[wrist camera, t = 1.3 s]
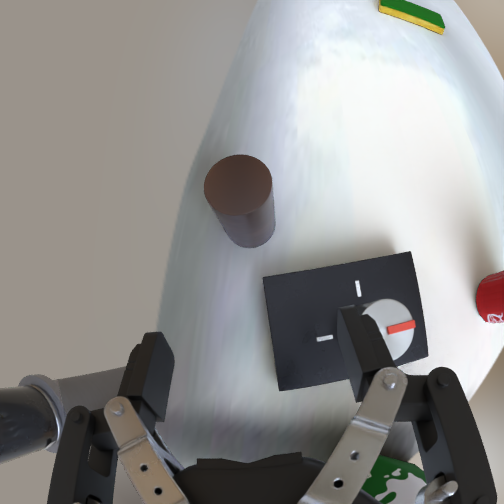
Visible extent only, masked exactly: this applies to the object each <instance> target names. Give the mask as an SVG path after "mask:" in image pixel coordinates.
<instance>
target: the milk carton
mask: <svg viewBox="0 0 504 504" xmlns="http://www.w3.org/2000/svg"><path fill="white" fill-rule="evenodd" d="M425 485H427V483H426V479H425V474H424V471H422V470H421V469H420V468H419V467H418V466H416V465H415V464H412V463H408V462H404V461H400V460H397V459H393V458H389V457H386V456H382V455H379V456H378V458H377V460H376V462H375V464H374V466H373V467H372V469H371V471H370V473H369V475H368V477H367V479H366V480H365V482H364V484H363V486H362V488H361V489H362V490H364V491H365V492H367V493H368V494H369V495H371V496H372V497H374V498H375V499H377V500H378V501H379V502H381V503H382V504H415V499H416V495H417V493H418V492H419V490H420V489H421V488H422V487H424V486H425Z"/></svg>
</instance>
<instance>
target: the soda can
mask: <svg viewBox="0 0 504 504" xmlns="http://www.w3.org/2000/svg"><path fill="white" fill-rule="evenodd" d="M476 304H477V309H478V312H479V314H480V316H481V317H482V318H483V319H484V321H485V322H490V323H501V322H504V271H501V272H498V273H495V274H492V275H489V276H487V277H486V278H484V279H483V280H482V281H481V283H480V284H479V287H478V289H477V295H476Z"/></svg>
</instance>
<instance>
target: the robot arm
mask: <svg viewBox="0 0 504 504" xmlns="http://www.w3.org/2000/svg"><path fill="white" fill-rule="evenodd" d="M337 338H338V343H339V346H340V349H341V353H342V356H343V359H344V362H345V366H346V369H347V373H348V376H349V379H350V383H351V386H352V390H353V393H354V397H355V400H356V403H357V402H361V401H362V403H361V405H360V407H359V409H358V411H357V413H356V415H355V417H354V418H353V419H352V420H351V421H350V423H349V425H348V427H347V429H346V430H345V432H344V434H343V436H342V437H341V439H340V441H339V443H338V444H337V446H336V448H335V449H334V451H333V453H332V454H331V456H330V458H329V459H328V461H327V462H323V461H321V460H318V459H315V458H309V457H302V454H301V452H296V453H288V454H280V455H274V456H271V457H268V458H264V459H261V460H258V461H255V462H251V463H242V462H237V461H231V460H226V459H222V458H221V459H197V464H196V465H192V466H189V467H187V468H185V469H184V467H183V466H182V465H181V464H180V463H179V462H178V461H177V459H176V458H175V457H174V456H173V454H172V453H171V451H170V450H169V448H168V447H167V445H166V444H165V442H164V441H163V439H162V438H161V436H160V434H159V433H158V431H157V430H156V428H155V424H156V422H164V420H165V414H166V408H167V402H168V397H169V391H170V385H171V380H172V374H173V369H174V363H175V361H174V355H173V352H172V350H171V348H170V346H169V344H168V343H167V341H166V339H165V337H164V335H163V333H162V332H150V333H145V334H144V337H143V340H142V343H141V344H137V345H136V347H135V348H134V349H133V350H132V352H131V354H130V357H129V360H128V363H127V366H126V370H125V372H124V375H123V379H122V382H121V385H120V389H119V392H118V395H117V397H114V398H112V399H111V400H110V401H108V403H107V404H106V406H105V408H102V409H98V410H94V411H89V410H88V409H87V408H86V407H84V406H76V407H74V408H72V409H71V410H70V411H69V412H68V414H67V416H66V420H65V423H64V427H63V426H62V420H61V417H60V414H59V411H58V409H57V407H56V405H55V403H54V401H53V400H52V398H51V397H50V396H49V394H48V393H47V392H46V391H45V390H44V389H42V388H41V387H40V386H38V385H35V384H28V385H24V386H19V387H9V388H0V464H3V463H6V462H9V461H12V460H15V459H17V458H20V457H23V456H26V455H29V454H31V453H34V452H37V451H39V450H42V449H44V450H45V449H48V448H49V447H52V446H54V445H56V444H58V443H59V446H58V450H57V455H56V459H55V464H54V468H53V473H52V478H51V484H50V489H49V495H48V501H47V504H113V493H114V484H115V476H116V467H117V460H118V457H119V459H120V461H121V463H122V465H123V467H124V469H125V471H126V473H127V475H128V476H129V478H130V480H131V482H132V484H133V486H134V487H135V489H136V491H137V493H138V494H139V496H140V498H141V499H142V501H143V503H144V504H382V503H381V502H379V501H378V500H377V499H375V498H374V497H372V496H371V495H369V494H368V493H367V492H365V491H364V490H362V489H361V488H362V486H363V484H364V482H365V480H366V479H367V477H368V475H369V473H370V471H371V469H372V467H373V466H374V464H375V462H376V460H377V458H378V456H379V454H380V452H381V449H382V447H383V445H384V443H385V441H386V439H387V437H388V434H389V432H390V428H391V426H392V423H393V422H408V421H411V422H412V425H413V429H414V432H415V436H416V440H417V444H418V448H419V452H420V456H421V460H422V464H423V469H424V474H425V479H426V483H427V485H425V486H424V487H422V488H421V489H420V490H419V492H418V493H417V495H416V499H415V504H496V503H497V493H496V489H495V485H494V481H493V477H492V473H491V469H490V466H489V463H488V459H487V455H486V452H485V449H484V446H483V443H482V439H481V436H480V434H479V431H478V428H477V425H476V422H475V419H474V417H473V414H472V411H471V409H470V406H469V404H468V401H467V399H466V396H465V394H464V391H463V389H462V387H461V384H460V382H459V380H458V377H457V375H456V374H455V372H454V371H452V370H451V369H449V368H446V367H438V368H435V369H433V370H432V371H431V372H430V373H429V375H408V374H405V373H404V372H403V371H401V370H400V369H398V368H397V367H396V365H395V363H394V361H393V359H392V356H391V354H390V352H389V349H388V347H387V345H386V343H385V340H384V339H383V336H382V334H381V332H380V329H379V327H378V325H377V323H376V321H375V320H374V319H373V318H372V317H371V316H369V315H368V314H364V315H359V313H358V310H357V308H356V306H355V305H349V306H344V307H339V308H338V313H337ZM90 446H91V449H90ZM89 451H90V454H89ZM88 457H89V459H88Z"/></svg>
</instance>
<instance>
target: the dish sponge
mask: <svg viewBox="0 0 504 504" xmlns="http://www.w3.org/2000/svg"><path fill="white" fill-rule="evenodd" d="M379 11H380V12H382V13H386V14H389V15H392V16H395V17H398V18H401V19H404V20H406V21H409V22H412V23H415V24H417V25H420V26H422V27H425V28H427V29H430V30H432V31H434V32H437V33H439V34H441V35H442V34H443V32H444V28H445V25H444V22H443V20H442V17H441V15H440V14H438V13H436V12H433V11H431V10H429V9H426V8H424V7H421V6H419V5H416V4H413V3H411V2H408V1H405V0H379Z"/></svg>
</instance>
